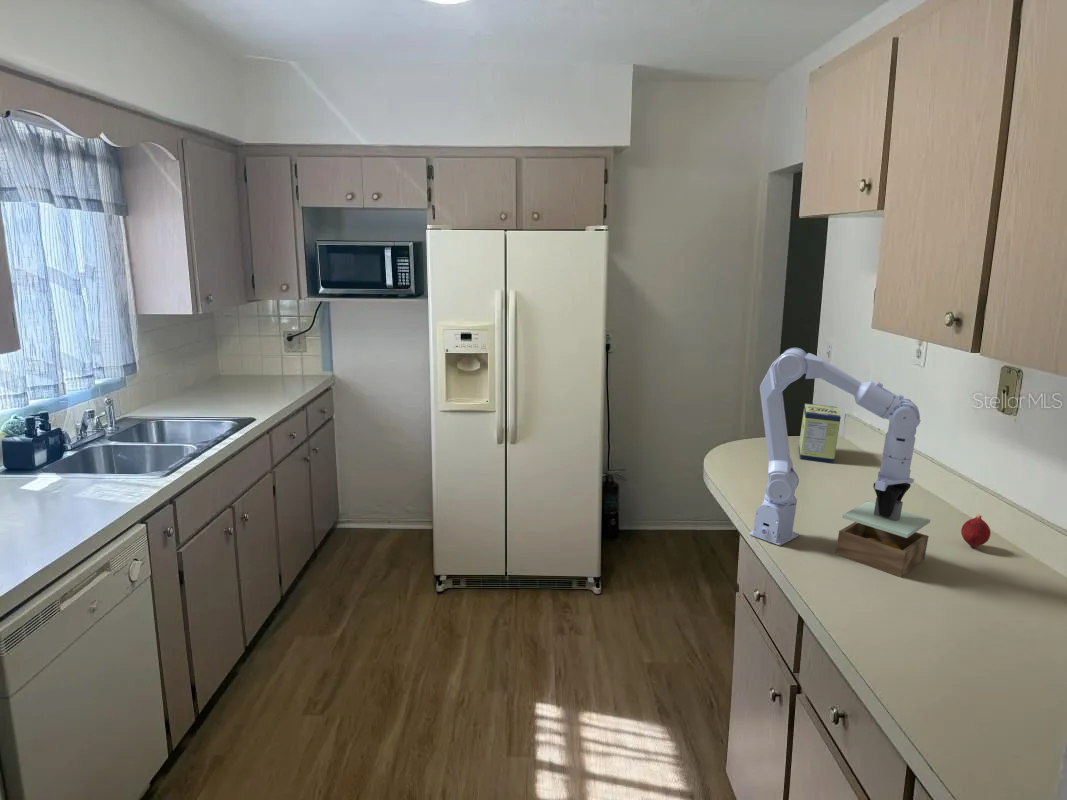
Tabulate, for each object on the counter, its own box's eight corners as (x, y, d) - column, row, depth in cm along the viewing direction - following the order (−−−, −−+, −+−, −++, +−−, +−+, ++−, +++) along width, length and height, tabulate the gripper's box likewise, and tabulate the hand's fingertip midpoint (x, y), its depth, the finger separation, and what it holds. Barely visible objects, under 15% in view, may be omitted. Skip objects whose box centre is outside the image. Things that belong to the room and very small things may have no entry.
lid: (906, 538, 150) (910, 516, 149) (842, 517, 159) (845, 497, 158) (929, 522, 159) (933, 502, 158) (867, 504, 169) (870, 484, 168)
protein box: (830, 450, 243) (837, 406, 240) (834, 464, 229) (841, 416, 225) (798, 446, 246) (804, 402, 243) (799, 459, 232) (806, 412, 228)
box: (900, 577, 152) (905, 552, 150) (835, 554, 161) (839, 531, 160) (924, 559, 161) (928, 535, 160) (861, 538, 171) (865, 516, 170)
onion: (989, 554, 166) (996, 521, 164) (961, 549, 167) (967, 517, 166) (983, 544, 171) (990, 513, 169) (956, 540, 173) (962, 508, 171)
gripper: (903, 466, 148) (893, 528, 151) (928, 454, 158) (918, 512, 161) (869, 457, 153) (859, 517, 156) (895, 446, 163) (885, 503, 166)
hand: (886, 514), depth 159 cm, fingers closed on lid, 2 cm apart
